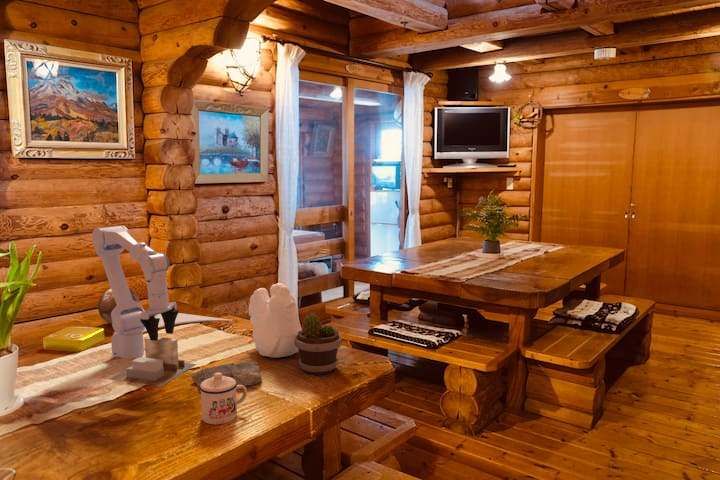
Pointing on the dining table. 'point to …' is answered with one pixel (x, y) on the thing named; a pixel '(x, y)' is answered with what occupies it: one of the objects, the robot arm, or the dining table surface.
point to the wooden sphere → (110, 304)
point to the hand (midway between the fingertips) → (162, 336)
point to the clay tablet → (232, 373)
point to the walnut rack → (169, 374)
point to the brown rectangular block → (162, 350)
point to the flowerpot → (317, 346)
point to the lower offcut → (144, 374)
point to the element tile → (73, 338)
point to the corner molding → (187, 319)
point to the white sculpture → (274, 321)
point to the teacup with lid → (220, 399)
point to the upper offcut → (147, 364)
